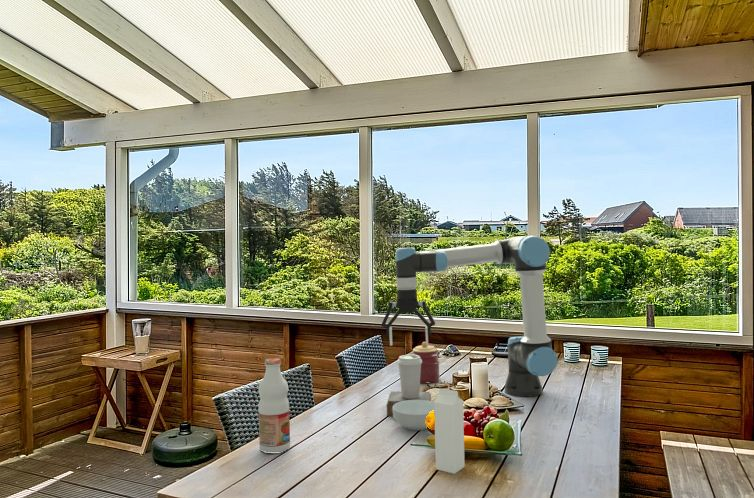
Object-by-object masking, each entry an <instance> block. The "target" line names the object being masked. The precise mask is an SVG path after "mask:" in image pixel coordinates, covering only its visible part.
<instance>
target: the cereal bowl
mask: <svg viewBox="0 0 754 498" xmlns="http://www.w3.org/2000/svg"><path fill="white" fill-rule="evenodd" d="M392 410H393V416H392V417H393V418H394V421H395V422H396V423H398V424H399V425H400V426H403V427H405V428H406V429H408V430H411V431H424V430H427V429H426V424H425V419H426V416H427V415H428V414H429V412H430V411H432V410H434V401H433V400H431V401H426V400H406V401H401V402H398V403H396V404H394V405H393V408H392Z"/></svg>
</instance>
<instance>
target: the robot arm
mask: <svg viewBox="0 0 754 498" xmlns="http://www.w3.org/2000/svg"><path fill="white" fill-rule="evenodd" d="M550 253H551V249H550V247H549V244H548V243H547V242H546V240H544V238H542V237H540V236H535V235H523V236H522V235H520V236H519V235H518V236H514V237H511V238H506V239H503V240H502V239H501V240H496V241H495V242H493V243H489V244H480V245H470V246H469V245H468V246H462V247H461V246H459V247H452V248H443V249H435V250H434V249H433V250H421V251H416V248H415V247H398V248H397V249H396V250H395V261H394V262H395V272H396V275H395V276H396V278H395V279H396V288H397V290H396V302H394V301H390V302H389V303H388V308H387V311H386V314H385V316H384V317H383V320H382V322H381V324H380V326H381V327H383V328H385V329H386V331H385V333H386V337H389V346H390V347H391V346H393V330H392V329H393V328H392V324H393V323H394V322H395V321H396V319H397V318H398V317H399V316H400V315H401V313H402V314H413V313H414V314H415V315H416V316H418V317H417V318H419V320H421V322H423V323H424V324H425V326H424V327H425V328H424V329H425V342H426V345H429V336H431V335H432V331H431V330H432V329H431V328H432V327H433V326H436V321H435V320H434V318H433V316H432V314H431V312H430V311H429V309H428V307H427V302H426V300H422V301H418V290H417V285H418V284H417V273H425V272H426V273H428V272H430V273H431V272H444V271H446V270H447V268H453V267H454V268H455V267H463V266H470V265H471V266H473V265H479V264H489V263H497V265H502V264H503V265H504V264H508V265H509V264H510V265H514V269H515V271H514V272H515V273H516V274H518V276H519V283H520V296H521V297H520V299H521V310H522V312H521V313H522V325H523V326H522V328H523V335H522V336H520V335H519V336H511V337H509V338H508V340H507V354H508V355H507V359H508V362H507V364H508V373H507V378H506V380H505V384H504V391H505V393H506V394H509V395H511V396H517V397H534V396H537V397H538V396H540V395H542V394H543V385H542V383H541V380H540V377H546V376H548V375H550V374H552V373H553V372H554V371H555V369H556V368H557V365H558V354H557V353H556V352H555V350H554V349H553V347H552V346H553V345H552V339H551V338H550V337H549V336H548V334H547V320H546V307H545V294H544V293H545V291H544V290H545V289H544V280H543V279H544V276H543V274H544V273H545V272H546V271H547V264H546V263H547V262H548V260H549V259H550V255H551V254H550ZM395 306H396V308H397V309H398V310H397V311H396V313H395V314H394V315H393V316H392V317H391V319H390V320H389V321H388V319H389V317H390V314H391V313H392V310H393V309H394V308H395ZM418 306H420V307H421V308H423V310H424V312H425V314H426V316H427V318H428V319H426V318H425V317H424V315H423V313H421V312H420V311H419V310H418ZM428 320H429V321H428ZM387 322H388V323H387Z"/></svg>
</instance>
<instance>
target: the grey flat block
mask: <svg viewBox="0 0 754 498" xmlns="http://www.w3.org/2000/svg"><path fill="white" fill-rule="evenodd" d="M406 400H426V401H432V393H430V391H419V397H418V398H414V399H407V398H403V397H402V392H401V391H390V393H389V395H388V399H387V402H386V415H387V417H388V416H389V417H390V416H392V417H394V416H393V410H392V408H393V405H394V404H396V403H398V402H401V401H406Z"/></svg>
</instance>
